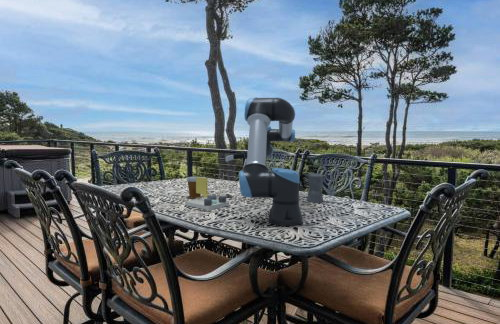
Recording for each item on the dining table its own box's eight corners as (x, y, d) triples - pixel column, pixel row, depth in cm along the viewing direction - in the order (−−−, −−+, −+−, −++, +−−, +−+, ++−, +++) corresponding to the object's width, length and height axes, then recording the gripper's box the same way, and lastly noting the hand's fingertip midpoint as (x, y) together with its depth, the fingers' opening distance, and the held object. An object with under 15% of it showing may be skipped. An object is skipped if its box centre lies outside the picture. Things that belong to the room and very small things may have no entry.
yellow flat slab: (218, 200, 192) (218, 178, 191) (211, 202, 189) (211, 179, 187) (200, 197, 202) (200, 176, 201) (193, 198, 198) (193, 177, 197)
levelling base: (229, 205, 191) (229, 196, 190) (208, 210, 179) (208, 200, 179) (206, 201, 202) (205, 192, 202) (185, 205, 191) (185, 196, 191)
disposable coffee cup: (206, 196, 216) (206, 177, 215) (195, 199, 208) (195, 178, 207) (194, 195, 221) (194, 175, 220) (183, 197, 213) (183, 177, 212)
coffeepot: (326, 200, 207) (327, 169, 205) (327, 203, 197) (327, 171, 196) (299, 199, 209) (300, 168, 208) (298, 202, 200) (299, 170, 199)
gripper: (275, 162, 206) (255, 169, 188) (239, 158, 219) (218, 164, 201) (275, 149, 204) (255, 155, 187) (238, 145, 217) (217, 151, 200)
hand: (236, 160), depth 194 cm, fingers open, 13 cm apart
